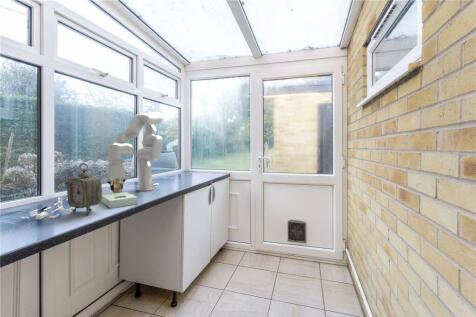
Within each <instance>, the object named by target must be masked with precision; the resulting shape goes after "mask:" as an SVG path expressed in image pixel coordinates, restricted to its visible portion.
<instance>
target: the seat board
mask: <svg viewBox="0 0 476 317" xmlns="http://www.w3.org/2000/svg"><path fill="white" fill-rule="evenodd" d="M100 203H102V204H104V205H105V206H106V207H108V208H109V209H115V208H116V209H117V208H120V207H127V206H132V205H133V206H134V205H138V196H136V195H135V194H134V195H133V194H131V193H129V192H127V191H123V192H121V193H108V194H106V193H105V194H102V201H101V202H100Z"/></svg>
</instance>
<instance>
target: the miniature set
mask: <svg viewBox="0 0 476 317" xmlns="http://www.w3.org/2000/svg"><path fill="white" fill-rule="evenodd" d="M63 197H64V196H61V197H60V196H58V197H57V202H56V203H54V204H53V205H54V206H55V207H56V205H57V208H56V209H55V210H53V211H51V212H50V213H52V214H53V212H56V211H61V212H65V211H67V212H72V210H73V209H75V207H72V206H70V205H69V203H67V205H68V206H70V207H69V209H68V208H64V206H63V201H65V202H66V201H67V202H68V198H66V199H65V200H63ZM51 208H52V206H49V207H48V206H44V207H41V208H40V212H41V213H38V211H39V209H35V210H32V211H31V212H29V216H22V217H20V219H21V220H29V219H30V217H32V218H33V217H34V216H35V220H36V221H37V220H43V219H45V218H46V217H48V218H49V219H55V218H57V217H59V216H60V213H59V214H56V215H52V216H51V215H50V216H49V213H48V212H47V211H48V210H49V209H51Z"/></svg>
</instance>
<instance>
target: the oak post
mask: <svg viewBox="0 0 476 317" xmlns="http://www.w3.org/2000/svg"><path fill="white" fill-rule="evenodd" d="M113 185H114V191H112V190H111V192H112V193H111V194H113V193H121V192H122V191H123V188H121V178H115V179H114V180H113Z"/></svg>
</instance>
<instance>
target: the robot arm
mask: <svg viewBox="0 0 476 317" xmlns="http://www.w3.org/2000/svg"><path fill="white" fill-rule="evenodd" d="M163 120H164V117H163V115H162V113H161V112H157V111H155V112H145V113H136V114H134V116H133V117H132V119H131V120H130V122H129V124H128V127H127V128H126V129H125V130H124V131H123V132H121V133H120V134H118V136H117V137H115V139H114V141H113V143H109V144H108V145H107V151H108V152H107V154H108V165H106V177H104V179H103V182H105V183H107V184H108V185H110V188H109V189H110V191H111V192H112V191H114V185H113V180H114V179H115V178H121V188H122V189H124V183H125V182H126V181H127V180H129V177H128V176H127V174H126V172H125V167H124V166H125V165H124V164H123V163H125V160H123V159H122V157H123V156H122V155H130V154H132V153H133V151H134V146H133V144H131V143H128V141H129V140H131V139H134V138H136V137H138V136H139V135H140V133H141V131H142V130H143V127H144V129H145V131H144V135H143V138H142V141H141V144H142V146H143V148H139V149H138V150H137V152H136V159H137V167H138V168H137V169H138V171H137V172H138V175H137V176H138V187H136V191H137V192H138V191H139V192H145V191H146V192H147V191H153V190H155V187H159V183H153V168H152V164H151V162H157V161H158V160H159V159H160V157H161V153H162V150H163V146H164V145H163V144H164V140H163V137H162V136H160V135H157V132H158V130H157V127H156V126H155V125H159V124H162V122H163Z"/></svg>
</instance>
